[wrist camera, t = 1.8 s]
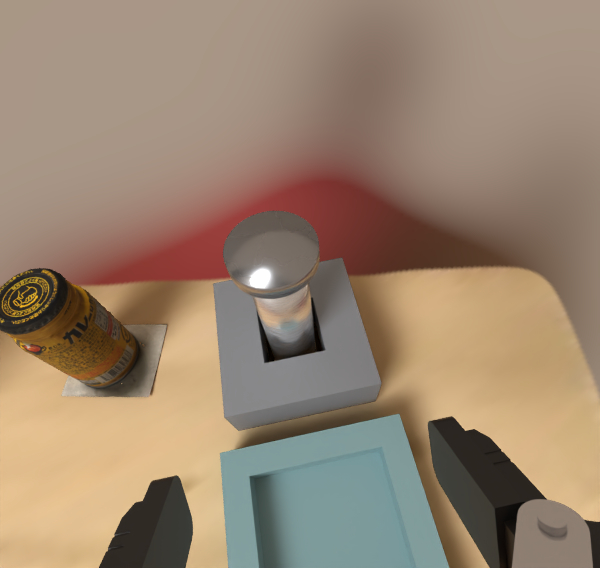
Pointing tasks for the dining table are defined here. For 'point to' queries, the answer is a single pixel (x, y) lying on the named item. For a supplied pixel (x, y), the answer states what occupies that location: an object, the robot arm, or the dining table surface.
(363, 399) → the socket block
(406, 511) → the tray
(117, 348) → the condiment
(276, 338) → the steel pin
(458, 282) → the dining table surface
